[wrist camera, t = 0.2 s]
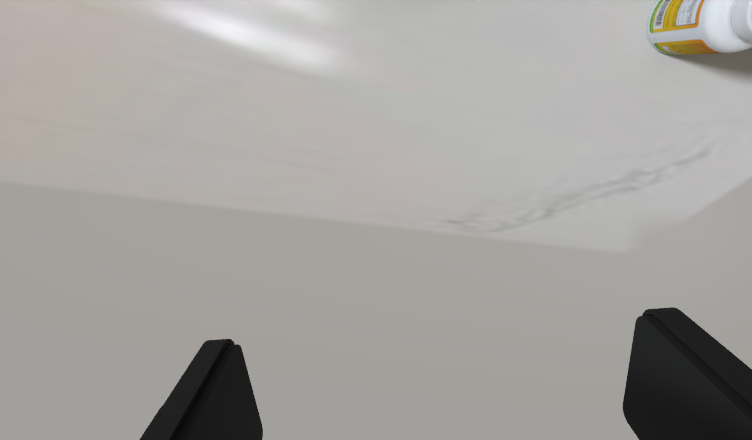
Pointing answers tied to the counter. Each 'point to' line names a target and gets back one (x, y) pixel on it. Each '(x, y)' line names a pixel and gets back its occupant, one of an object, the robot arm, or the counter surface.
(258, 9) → the counter surface
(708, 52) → the supplement bottle
